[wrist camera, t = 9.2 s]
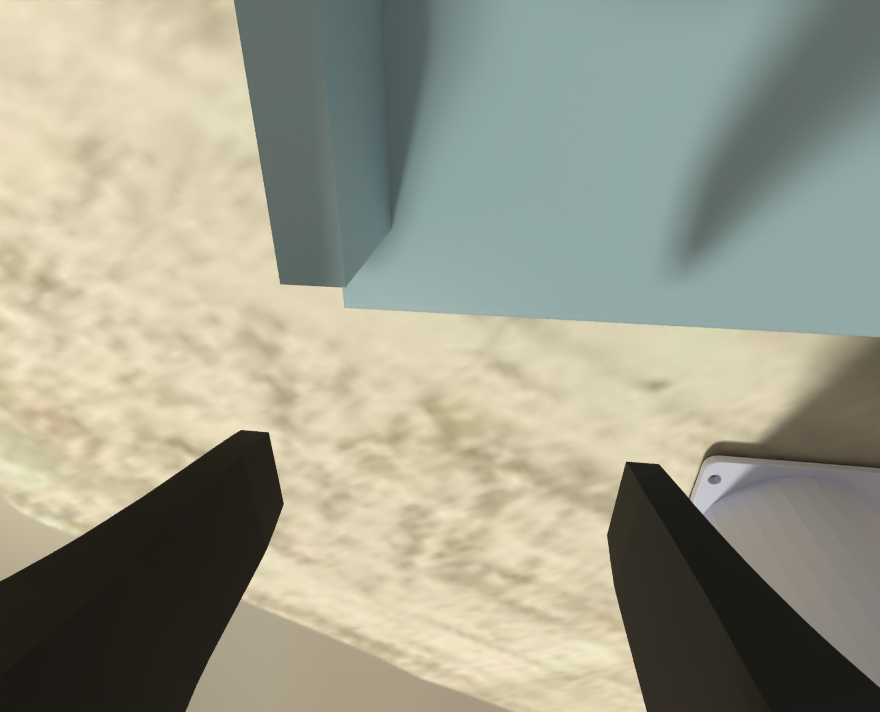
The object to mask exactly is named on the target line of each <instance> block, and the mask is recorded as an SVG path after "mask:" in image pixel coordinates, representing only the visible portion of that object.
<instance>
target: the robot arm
mask: <svg viewBox="0 0 880 712" xmlns="http://www.w3.org/2000/svg"><path fill="white" fill-rule="evenodd" d="M712 475H716V476H715V477H711V478H709V477H710V476H712ZM283 505H284V503H283V498H282V493H281V488H280V484H279V479H278V474H277V469H276V465H275V460H274V455H273V450H272V446H271V441H270V436H269V432H258V431H245V430H240V431H239V432H237V433H236V434H234V435H232V436H231V437H229V438H228V439H226V440H225V441H223V442H222V443H220V444H219V445H217V446H216V447H214V448H213V449H212V450H210V451H209V452H207V453H206V454H204V455H203V456H202V457H200V458H199V459H197V460H196V461H194V462H193V463H191V464H190V465H189V466H187V467H186V468H184V469H183V470H181V471H180V472H178V473H177V474H176V475H174V476H173V477H171V478H170V479H168V480H167V481H165V482H164V483H162V484H161V485H159V486H158V487H157V488H155V489H154V490H152V491H151V492H149V493H148V494H146V495H145V496H143V497H142V498H140V499H139V500H137V501H136V502H134V503H132V504H131V505H129V506H128V507H126V508H125V509H123V510H121V511H120V512H118V513H117V514H115V515H114V516H112V517H110V518H109V519H107V520H106V521H104V522H103V523H101V524H99V525H98V526H96V527H95V528H93V529H92V530H90V531H88V532H87V533H85V534H84V535H82V536H80V537H79V538H77V539H75V540H74V541H72V542H70V543H69V544H67V545H65V546H64V547H62V548H60V549H58V550H57V551H55V552H53V553H51V554H50V555H48V556H46V557H44V558H42V559H41V560H39V561H37V562H35V563H33V564H31V565H30V566H28V567H26V568H24V569H22V570H21V571H19V572H17V573H15V574H13V575H12V576H10V577H8V578H6V579H4V580H2V581H0V712H185V711H186V709H187V707H188V704H189V702H190V699H191V697H192V695H193V692H194V690H195V688H196V685H197V683H198V681H199V679H200V677H201V675H202V673H203V671H204V669H205V667H206V665H207V663H208V660H209V658H210V657H211V655H212V653H213V651H214V649H215V647H216V645H217V643H218V641H219V639H220V638H221V636H222V634H223V632H224V630H225V628H226V626H227V624H228V623H229V621H230V619H231V617H232V615H233V613H234V611H235V609H236V607H237V606H238V604H239V602H240V600H241V598H242V596H243V594H244V592H245V590H246V589H247V587H248V585H249V583H250V581H251V579H252V577H253V575H254V573H255V571H256V569H257V567H258V565H259V564H260V562H261V560H262V558H263V556H264V554H265V552H266V550H267V547H268V545H269V542H270V540H271V537H272V535H273V532H274V529H275V527H276V524H277V521H278V518H279V516H280V513H281V510H282V507H283ZM607 538H608V545H609V553H610V561H611V568H612V574H613V581H614V587H615V591H616V595H617V599H618V603H619V607H620V611H621V615H622V619H623V623H624V627H625V630H626V634H627V638H628V642H629V646H630V649H631V653H632V657H633V661H634V665H635V668H636V672H637V676H638V680H639V684H640V687H641V691H642V695H643V699H644V703H645V706H646V710H647V712H880V468H871V467H858V466H846V465H833V464H821V463H808V462H795V461H783V460H770V459H757V458H745V457H732V456H719V455H718V456H711V457H709V458H707V459H706V460H705V461H704V462H703V464H702V466H701V469H700V472H699V475H698V478H697V480H696V483H695V486H694V489H693V491H692V494H691V497H690V499H689V498H688V497H687V496H686V495H685V493H684V492H683V491H682V490H681V489H680V488H679V486H678V485H677V484H676V483H675V482H674V481H673V480H672V478H671V477H670V476H669V475H668V474H667V473H666V472H665V470H664V469H663V468H662V467H661V466H660V465H659V464H649V463H637V462H626V464H625V468H624V472H623V476H622V480H621V483H620V487H619V491H618V495H617V499H616V503H615V507H614V511H613V514H612V518H611V522H610V526H609V530H608V534H607Z"/></svg>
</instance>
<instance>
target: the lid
mask: <svg viewBox="0 0 880 712" xmlns="http://www.w3.org/2000/svg"><path fill="white" fill-rule="evenodd" d="M234 4H235V10H236V16H237V22H238V28H239V34H240V40H241V46H242V53H243V59H244V65H245V71H246V77H247V83H248V89H249V95H250V101H251V108H252V114H253V120H254V126H255V132H256V138H257V144H258V150H259V156H260V163H261V169H262V175H263V181H264V187H265V193H266V199H267V205H268V211H269V217H270V224H271V230H272V236H273V242H274V248H275V254H276V260H277V266H278V272H279V279H280V284H286V285H306V286H326V287H343V297H344V308H357V309H376V310H394V311H412V312H430V313H449V314H467V315H485V316H503V317H522V318H540V319H558V320H576V321H595V322H613V323H631V324H649V325H668V326H686V327H704V328H722V329H741V330H759V331H777V332H795V333H814V334H832V335H850V336H868V337H880V0H234Z"/></svg>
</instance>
